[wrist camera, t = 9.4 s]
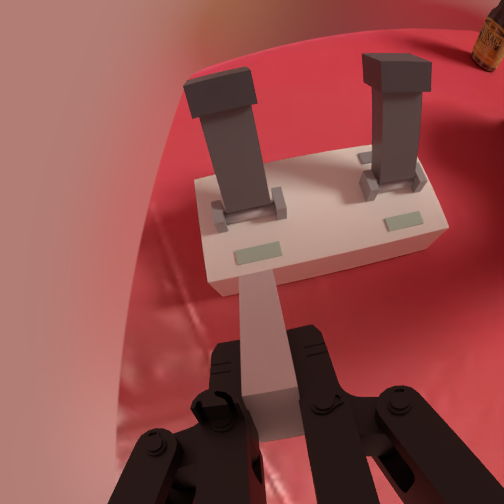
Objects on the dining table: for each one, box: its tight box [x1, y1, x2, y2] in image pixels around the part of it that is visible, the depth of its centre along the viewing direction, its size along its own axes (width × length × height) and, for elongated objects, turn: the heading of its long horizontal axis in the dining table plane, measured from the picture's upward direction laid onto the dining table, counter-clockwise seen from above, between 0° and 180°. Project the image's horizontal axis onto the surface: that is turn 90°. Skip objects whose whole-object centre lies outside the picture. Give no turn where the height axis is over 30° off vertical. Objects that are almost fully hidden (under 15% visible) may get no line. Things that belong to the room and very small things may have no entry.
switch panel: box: [194, 145, 449, 297], centre depth 28 cm, size 10×22×8 cm, turn 101°
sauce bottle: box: [471, 0, 504, 72], centre depth 30 cm, size 7×6×20 cm
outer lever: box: [183, 67, 271, 213], centre depth 22 cm, size 3×4×11 cm
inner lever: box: [362, 53, 432, 184], centre depth 21 cm, size 3×4×11 cm
